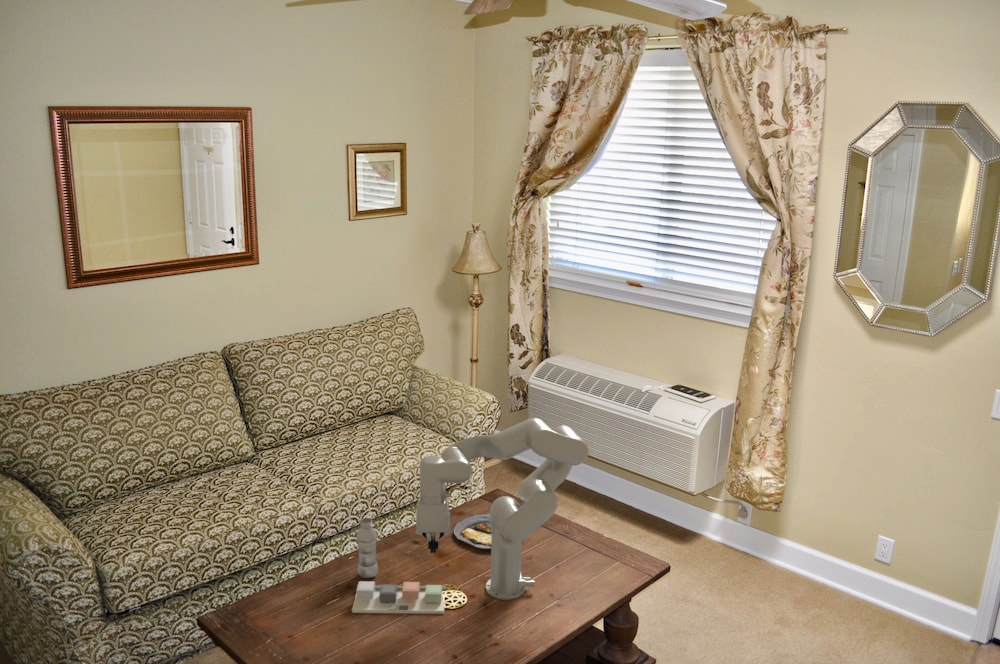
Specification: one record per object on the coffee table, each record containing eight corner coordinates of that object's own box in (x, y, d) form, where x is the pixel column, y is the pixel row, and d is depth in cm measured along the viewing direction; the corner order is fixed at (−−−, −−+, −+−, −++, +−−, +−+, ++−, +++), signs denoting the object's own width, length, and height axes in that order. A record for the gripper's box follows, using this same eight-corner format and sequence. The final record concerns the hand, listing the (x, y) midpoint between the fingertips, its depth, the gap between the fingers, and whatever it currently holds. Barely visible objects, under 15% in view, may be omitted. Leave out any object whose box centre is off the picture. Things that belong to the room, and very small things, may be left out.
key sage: (442, 593, 263) (442, 584, 262) (441, 602, 258) (441, 593, 258) (426, 593, 263) (426, 584, 262) (425, 602, 258) (425, 593, 257)
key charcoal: (397, 592, 263) (397, 584, 262) (395, 602, 258) (395, 593, 257) (381, 592, 263) (381, 584, 262) (379, 602, 258) (379, 593, 257)
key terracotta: (419, 590, 263) (419, 581, 262) (418, 599, 258) (418, 590, 257) (403, 590, 263) (403, 581, 262) (402, 599, 258) (402, 590, 257)
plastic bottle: (374, 582, 271) (373, 526, 265) (354, 579, 272) (352, 524, 267) (381, 571, 277) (379, 517, 272) (361, 568, 278) (360, 514, 273)
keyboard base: (445, 591, 267) (445, 585, 266) (443, 613, 255) (443, 608, 255) (357, 590, 266) (357, 584, 266) (351, 612, 255) (351, 607, 254)
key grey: (375, 589, 263) (374, 581, 262) (373, 599, 258) (372, 590, 257) (359, 589, 262) (358, 581, 262) (356, 598, 258) (356, 590, 257)
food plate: (536, 533, 303) (536, 524, 302) (496, 560, 285) (496, 551, 284) (483, 513, 318) (483, 505, 317) (442, 538, 300) (442, 529, 299)
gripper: (457, 490, 256) (458, 544, 261) (408, 491, 255) (410, 544, 260) (457, 502, 248) (457, 557, 254) (406, 502, 248) (408, 557, 253)
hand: (433, 550), depth 257 cm, fingers closed
